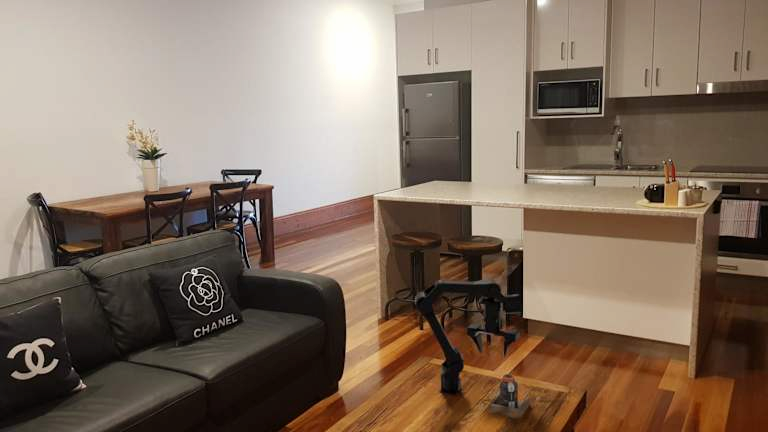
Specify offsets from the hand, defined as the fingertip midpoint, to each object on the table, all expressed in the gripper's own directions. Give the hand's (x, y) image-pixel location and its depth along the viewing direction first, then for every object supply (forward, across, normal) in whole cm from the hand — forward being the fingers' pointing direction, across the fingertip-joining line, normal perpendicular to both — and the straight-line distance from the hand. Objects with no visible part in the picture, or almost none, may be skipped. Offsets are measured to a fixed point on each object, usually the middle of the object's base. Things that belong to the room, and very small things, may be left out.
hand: (493, 354), depth 219 cm
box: (+13, -10, +13) cm, 21 cm away
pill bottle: (+13, -10, +13) cm, 21 cm away
